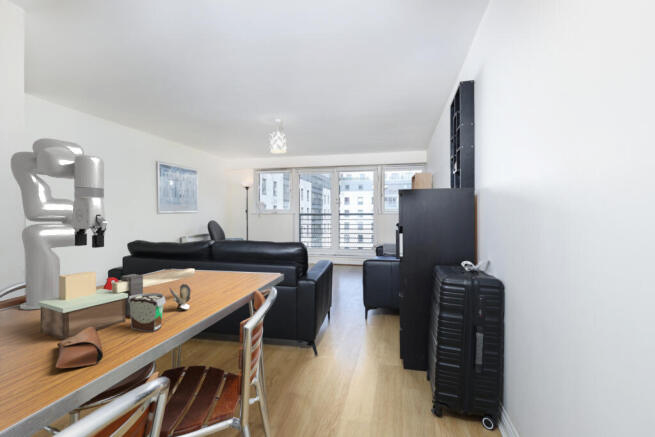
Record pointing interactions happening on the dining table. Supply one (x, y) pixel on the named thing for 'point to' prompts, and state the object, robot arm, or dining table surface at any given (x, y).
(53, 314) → the toolbox
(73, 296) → the lid
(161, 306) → the food container
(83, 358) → the sunglasses case
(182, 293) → the eagle figurine
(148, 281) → the cream wooden bar
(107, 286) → the tracker holder
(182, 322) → the dining table surface
